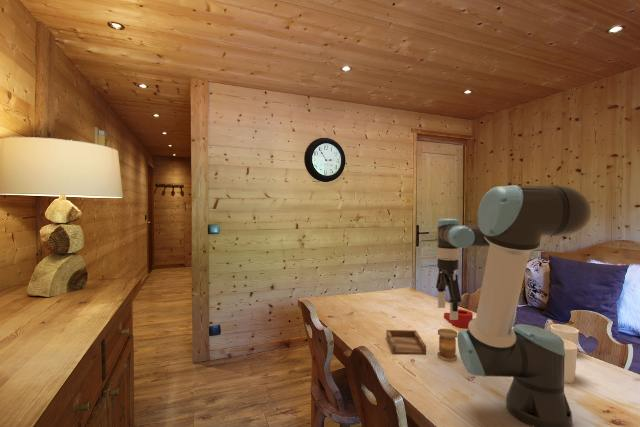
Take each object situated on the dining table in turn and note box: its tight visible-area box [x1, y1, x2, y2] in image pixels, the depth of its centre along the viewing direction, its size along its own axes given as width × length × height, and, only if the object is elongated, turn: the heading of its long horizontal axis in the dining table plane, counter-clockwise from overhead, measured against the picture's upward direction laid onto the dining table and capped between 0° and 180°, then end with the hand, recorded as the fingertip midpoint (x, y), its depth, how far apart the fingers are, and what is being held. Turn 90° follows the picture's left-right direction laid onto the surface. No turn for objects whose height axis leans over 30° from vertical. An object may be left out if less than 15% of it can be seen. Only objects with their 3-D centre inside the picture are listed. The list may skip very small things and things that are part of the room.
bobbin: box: [437, 328, 458, 362], centre depth 123 cm, size 7×7×10 cm
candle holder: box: [562, 339, 579, 384], centre depth 109 cm, size 10×10×12 cm
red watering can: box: [443, 308, 474, 330], centre depth 162 cm, size 18×9×7 cm, turn 14°
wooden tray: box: [385, 329, 427, 356], centre depth 134 cm, size 16×13×4 cm
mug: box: [549, 323, 580, 347], centre depth 127 cm, size 11×9×10 cm
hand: (447, 313), depth 123 cm, fingers open, 13 cm apart
